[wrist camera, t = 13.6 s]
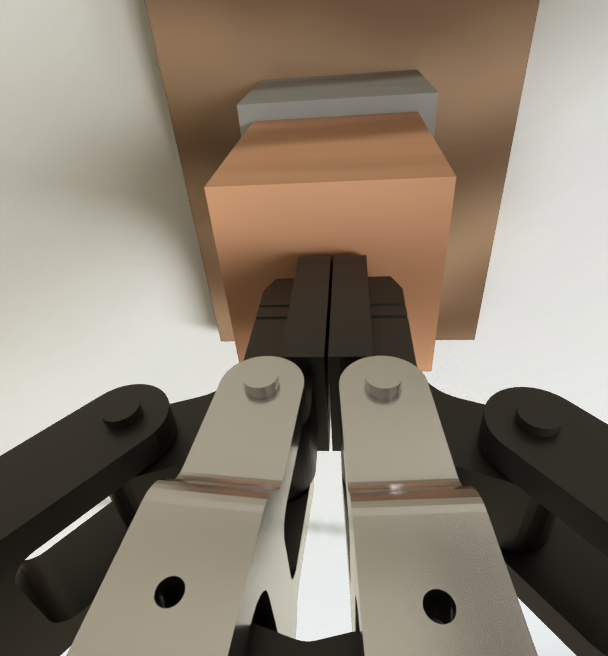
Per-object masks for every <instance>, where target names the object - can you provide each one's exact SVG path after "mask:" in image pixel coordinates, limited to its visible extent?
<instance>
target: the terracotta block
mask: <svg viewBox="0 0 608 656" xmlns="http://www.w3.org/2000/svg"><path fill="white" fill-rule="evenodd" d="M455 183H456V175H455V173H454V172H453V170H452V168H451V167H450V165H449V163H448V162H447V160H446V158H445V156H444V155H443V153H442V151H441V150H440V148H439V146H438V145H437V143H436V141H435V140H434V138H433V136H432V134H431V133H430V131H429V129H428V128H427V126H426V124H425V123H424V121H423V119H422V117H421V116H420V114H419V112H403V113H385V114H368V115H350V116H332V117H315V118H297V119H280V120H262V121H253V122H252V124H251V125H250V126H249V128H248V129H247V130H246V132H245V133H244V134H243V136H242V137H241V138H240V140H239V141H238V143H237V144H236V145H235V147H234V148H233V149H232V151H231V152H230V153H229V155H228V156H227V157H226V159H225V160H224V161H223V163H222V164H221V165H220V167H219V168H218V169H217V171H216V172H215V173H214V175H213V176H212V177H211V179H210V180H209V181H208V183H207V184H206V185H205V187H204V189H205V194H206V199H207V204H208V209H209V214H210V219H211V224H212V229H213V234H214V239H215V244H216V249H217V254H218V259H219V264H220V269H221V274H222V279H223V284H224V289H225V294H226V299H227V304H228V309H229V314H230V319H231V324H232V329H233V334H234V339H235V344H236V349H237V354H238V359H239V363H240V362H242V361H243V360H244V357H245V353H246V350H247V346H248V343H249V339H250V336H251V332H252V329H253V325H254V322H255V320H256V315H257V311H258V308H259V304H260V301H261V297H262V294H263V291H264V290H265V289H266V288H267V287H268V286H269V285H270V284H271V283H272V282H273V281H274V280H275V279H284V278H295V273H296V268H297V263H298V258H299V257H301V256H331V258H332V278H333V260H334V256H336V255H366V257H367V271H368V277H375V276H391V277H392V278H393V279H394V280H395V281H396V282H397V283H398V284H399V285H400V286H401V287H402V288H403V293H404V299H405V306H406V309H407V315H408V316H407V317H408V320H409V326H410V331H411V337H412V342H413V347H414V353H415V358H416V364H417V367H418V369H420V370H421V371H431V370H432V362H433V354H434V347H435V339H436V331H437V323H438V316H439V308H440V300H441V292H442V284H443V277H444V269H445V261H446V253H447V245H448V238H449V230H450V222H451V214H452V207H453V199H454V191H455Z"/></svg>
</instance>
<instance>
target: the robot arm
mask: <svg viewBox="0 0 608 656" xmlns="http://www.w3.org/2000/svg"><path fill="white" fill-rule="evenodd" d="M407 316H408V315H407V309H406V306H405V299H404V293H403V288H402V287H401V286H400V285H399V284H398V283H397V282H396V281H395V280H394V279H393V278H392V277H391V276H375V277H368V271H367V257H366V255H336V256H334V260H333V278H332V258H331V256H301V257H299V258H298V263H297V268H296V273H295V278H284V279H275V280H274V281H273V282H272V283H271V284H270V285H269V286H268V287H267V288H266V289H265V290H264V291H263V294H262V297H261V301H260V304H259V308H258V311H257V315H256V320H255V322H254V325H253V329H252V332H251V336H250V339H249V343H248V346H247V350H246V353H245V357H244V360H243V361H242V362H240V363H238V364H236V365H235V366H233V367H232V368H231V369H230V370H228V371H227V372H226V374H225V375H224V376H223V378H222V379H221V381H220V383H219V386H218V388H217V390H216V391H215V392H213V393H210V394H208V395H205V396H201V397H197V398H193V399H189V400H185V401H181V402H176V403H172V404H170V403H169V401H168V398H167V396H166V394H165V393H164V392H163V391H162V390H160V389H159V388H157V387H154V386H151V385H146V384H134V385H127V386H123V387H119V388H116V389H114V390H111V391H109V392H107V393H105V394H103V395H101V396H100V397H98V398H96V399H95V400H93V401H91V402H90V403H88V404H86V405H85V406H83V407H81V408H80V409H78V410H76V411H75V412H73V413H71V414H70V415H68V416H66V417H65V418H63V419H61V420H60V421H58V422H56V423H55V424H53V425H51V426H50V427H48V428H46V429H45V430H43V431H41V432H40V433H38V434H36V435H35V436H33V437H31V438H29V439H28V440H26V441H24V442H23V443H21V444H19V445H18V446H16V447H14V448H13V449H11V450H9V451H8V452H6V453H4V454H3V455H1V456H0V656H60V655H61V654H62V653H64V652H65V651H66V650H67V649H68V648H69V647H70V646H71V647H70V649H69V651H68V653H67V655H66V656H538V655H537V652H536V649H535V646H534V644H533V641H532V638H531V635H530V632H529V629H528V627H527V624H526V621H525V618H524V615H523V612H522V610H521V607H520V604H519V601H518V598H519V599H520V600H521V601H522V602H523V603H524V604H525V605H526V606H527V607H528V608H529V609H530V610H531V611H532V612H533V613H534V614H535V615H536V616H537V617H538V618H539V619H540V620H541V621H542V622H543V623H544V624H545V625H546V626H547V627H548V628H549V629H550V630H551V631H552V632H553V633H554V634H555V635H556V636H557V637H558V638H559V639H560V640H561V641H562V642H563V643H564V644H565V645H566V646H567V647H568V648H569V649H571V650H572V651H573V652H574V653H575V654H576V655H577V656H608V424H606V423H604V422H603V421H601V420H599V419H598V418H596V417H594V416H593V415H591V414H589V413H588V412H586V411H584V410H583V409H581V408H579V407H578V406H576V405H574V404H573V403H571V402H569V401H567V400H566V399H564V398H562V397H560V396H558V395H556V394H553V393H551V392H548V391H544V390H541V389H536V388H529V387H514V388H508V389H504V390H501V391H499V392H497V393H495V394H494V395H493V396H492V397H490V399H489V400H488V401H487V403H486V405H484V404H480V403H476V402H472V401H468V400H464V399H460V398H456V397H453V396H450V395H448V394H445V393H443V392H441V391H439V390H437V389H436V388H434V387H433V386H432V385H430V384H429V383H428V381H427V379H426V377H425V375H424V374H423V373H422V371H421V370H420V369H418V367H417V364H416V358H415V353H414V347H413V342H412V337H411V331H410V326H409V320H408V317H407ZM330 420H331V427H332V447H333V451H341V460H342V491H343V505H344V518H345V532H346V545H347V559H348V573H349V586H350V602H351V621H352V632H350V633H346V634H342V635H338V636H333V637H329V638H325V639H321V640H317V641H310V642H306V641H300V640H296V639H295V637H296V625H297V598H298V587H299V580H300V574H301V567H302V561H303V554H304V548H305V542H306V535H307V529H308V522H309V516H310V510H311V503H312V497H313V490H314V480H313V478H314V476H315V471H316V459H317V451H329V443H330ZM108 496H110V498H111V500H112V502H111V503H109V504H108V505H107V506H105V507H104V508H103V509H101V510H100V511H99V512H97V513H96V514H95V515H93V516H92V517H91V518H89V519H88V520H87V521H85V522H84V523H83V524H81V525H80V526H79V527H77V528H76V529H75V530H73V531H72V532H71V533H69V534H68V535H67V536H65V537H64V538H63V539H61V540H60V541H59V542H57V543H56V544H55V545H53V546H52V547H51V548H49V549H48V550H47V551H45V552H44V553H42V554H41V555H39V556H37V557H35V558H33V559H29V560H25V559H26V558H27V557H28V556H29V555H30V554H31V553H33V552H34V551H35V550H36V549H38V548H39V547H41V546H42V545H43V544H45V543H46V542H47V541H49V540H50V539H51V538H53V537H54V536H55V535H57V534H58V533H59V532H61V531H62V530H63V529H65V528H66V527H68V526H69V525H70V524H72V523H73V522H74V521H76V520H77V519H78V518H80V517H81V516H82V515H84V514H85V513H86V512H88V511H89V510H90V509H92V508H93V507H95V506H96V505H97V504H99V503H100V502H101V501H103V500H104V499H105V498H107V497H108ZM517 597H518V598H517Z"/></svg>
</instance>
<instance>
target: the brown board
mask: <svg viewBox="0 0 608 656" xmlns="http://www.w3.org/2000/svg"><path fill="white" fill-rule="evenodd" d="M145 4H146V8H147V13H148V17H149V22H150V26H151V31H152V35H153V39H154V44H155V48H156V53H157V57H158V62H159V66H160V71H161V75H162V80H163V84H164V89H165V93H166V98H167V102H168V107H169V111H170V116H171V120H172V124H173V129H174V133H175V138H176V142H177V147H178V151H179V156H180V160H181V165H182V169H183V174H184V178H185V183H186V187H187V192H188V196H189V201H190V205H191V209H192V214H193V218H194V223H195V227H196V232H197V236H198V241H199V245H200V250H201V254H202V259H203V263H204V268H205V272H206V277H207V281H208V286H209V290H210V294H211V299H212V303H213V308H214V312H215V317H216V321H217V326H218V330H219V335H220V339H221V341H235V339H234V334H233V329H232V324H231V319H230V314H229V309H228V304H227V299H226V294H225V289H224V284H223V279H222V274H221V269H220V264H219V259H218V254H217V249H216V244H215V239H214V234H213V229H212V224H211V219H210V214H209V209H208V204H207V199H206V194H205V189H204V187H205V185H206V184H207V183H208V181H209V180H210V179H211V177H212V176H213V175H214V173H215V172H216V171H217V169H218V168H219V167H220V165H221V164H222V163H223V161H224V160H225V159H226V157H227V156H228V155H229V153H230V152H231V151H232V149H233V148H234V147H235V145H236V144H237V143H238V141H239V140H240V138H241V137H242V136H243V134H244V133H245V132H246V130H247V129H248V128H249V126H250V125H251V124H252V122H253V121H262V120H280V119H297V118H315V117H332V116H350V115H368V114H385V113H403V112H419V114H420V116H421V117H422V119H423V121H424V123H425V124H426V126H427V128H428V129H429V131H430V133H431V134H432V136H433V138H434V140H435V141H436V143H437V145H438V146H439V148H440V150H441V151H442V153H443V155H444V156H445V158H446V160H447V162H448V163H449V165H450V167H451V168H452V170H453V172H454V173H455V175H456V183H455V191H454V199H453V207H452V214H451V222H450V230H449V238H448V245H447V253H446V261H445V269H444V277H443V284H442V292H441V300H440V308H439V316H438V323H437V331H436V339H435V340H474V339H475V334H476V329H477V324H478V318H479V313H480V308H481V303H482V297H483V292H484V287H485V282H486V277H487V271H488V266H489V261H490V256H491V251H492V245H493V240H494V235H495V230H496V224H497V219H498V214H499V209H500V204H501V198H502V193H503V188H504V183H505V177H506V172H507V167H508V162H509V157H510V151H511V146H512V141H513V136H514V131H515V125H516V120H517V115H518V110H519V104H520V99H521V94H522V89H523V84H524V78H525V73H526V68H527V63H528V57H529V52H530V47H531V42H532V37H533V31H534V26H535V21H536V16H537V11H538V5H539V0H145Z"/></svg>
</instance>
